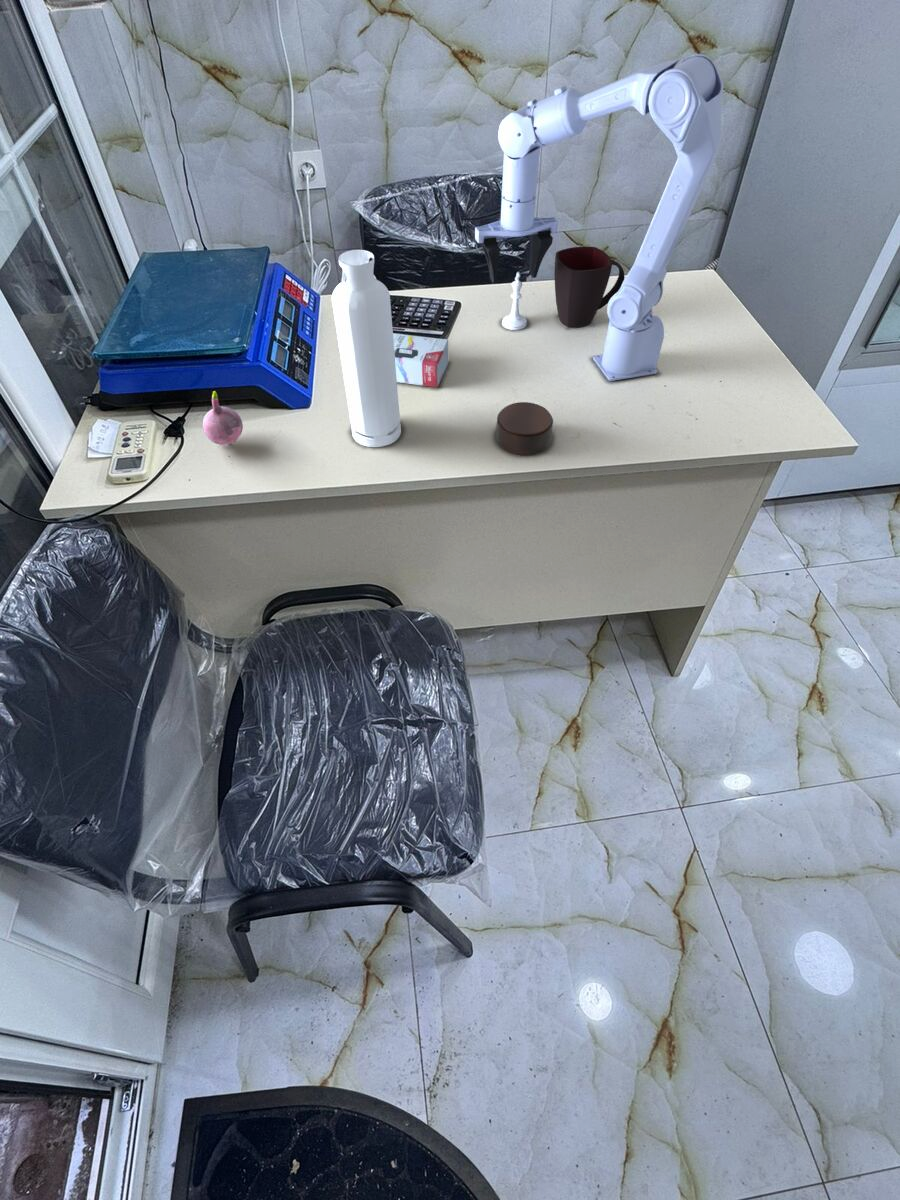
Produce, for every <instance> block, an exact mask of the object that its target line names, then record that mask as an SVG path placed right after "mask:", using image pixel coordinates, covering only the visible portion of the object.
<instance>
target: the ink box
mask: <svg viewBox="0 0 900 1200" xmlns="http://www.w3.org/2000/svg"><path fill="white" fill-rule="evenodd" d="M393 340H394V352H395V365H396V377H397V383H402V384H410V385H416V386H423V387H430V388H431V387H432V388H438V387H439V386H440V383H441V381H442V379H443V377H444V374H445V372H446V370H447V368H448V365H449V339H444V338H438V337H429V336H421V335H411V334H403V333H396V332H395V333H394V332H393Z"/></svg>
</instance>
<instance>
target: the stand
mask: <svg viewBox="0 0 900 1200" xmlns="http://www.w3.org/2000/svg"><path fill="white" fill-rule="evenodd" d="M553 427H554V418H553V416H552V414H551V413H550V411H549V410H548V409H547V408H546V407H544V406H542V405H540V404H538V403H534V402H529V401H520V402H519V401H518V402H513V403H511V404H508V405H506V406H505V407H503V408H502V409H501V410H500V411H499V412H498V414H497V417H496V428H495V440H496V443H497V445H498V446H499V447H500V448H501V449H502V450H504V451H505V452H508V453H510V454H511V455H515V456H533V455H537V454H540V453H542V452H544V451H545V450H546V449H548V448H549V446H550V444H551V440H552V434H553Z"/></svg>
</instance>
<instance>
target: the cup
mask: <svg viewBox="0 0 900 1200" xmlns="http://www.w3.org/2000/svg"><path fill="white" fill-rule="evenodd" d="M613 266H615V267H617V268H618V277H617V279H616V281H615V283H614V284H613V286H612V288H611V289H610V290H608V292H607V293H606V294H605V292H606V289H607V287H608V284H609V281H610V277H611V272H612V269H613V268H612V267H613ZM625 278H626V276H625V271H624V268H623V267H622V265H621V264H620V263H619V262H618V261H616V260H614V259H612V258H611V257H610V256H609V254H607V252H605V251H604V250H602V249H600V248H598V247H596V246H576V247H575V246H574V247H567V248H564V249H561V250H558V251H556V252H555V257H554V292H555V303H556V310H557V311H556V312H557V315H558V320H559V321H560V323H561V324H562V325H563V326H565V327H566V328H568V329H569V328H570V329H576V328H584V327H586V326H589V325H591V323H592V322H593V320H594V318H595V316H596V315H597V313H598V311H599V310H601V309H602V308H604V307H606V306H608V303H609V300H610V299H611V297H612V296H613V295H615V294H616V293H617V292H618V291H619V290H620V288H621V286H622V283H623V281H624V279H625Z"/></svg>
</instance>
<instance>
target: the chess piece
mask: <svg viewBox="0 0 900 1200" xmlns="http://www.w3.org/2000/svg"><path fill="white" fill-rule="evenodd" d="M520 278H521V274H520V271H516V275H515V277H514V281H512V282H511V287H512V291H513V292H512V293H511V294H510V298H511V299H513V300H512V306H511V311H510V313H509V314H507V315H505V316H504V317H503V318H502V321H501V325H502V327H503V328H505V329H506V330H511V331H519V330H523V329H525V328H526V327H527V325H528V323H527V318H526V317H525V316H523V315H521V314H520V304H519V303H520V301H519V300H520V299H522V297H523V294H522V293H520V292H521V289H522V287H523V282H522V281H521V280H520Z"/></svg>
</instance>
